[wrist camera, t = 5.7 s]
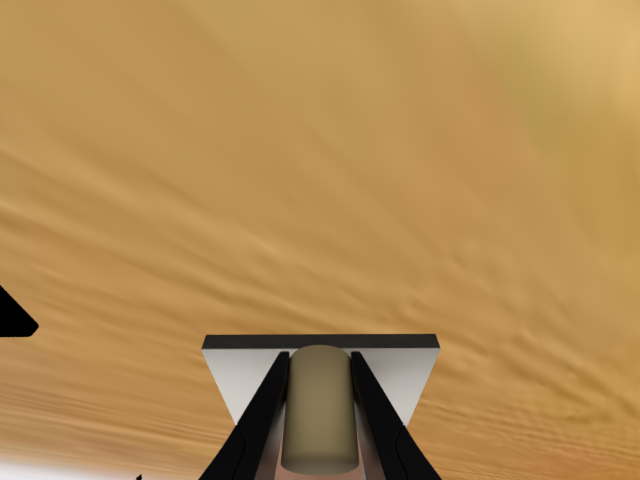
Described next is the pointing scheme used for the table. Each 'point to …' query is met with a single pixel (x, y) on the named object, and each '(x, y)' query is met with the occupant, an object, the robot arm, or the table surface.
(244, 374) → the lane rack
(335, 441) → the toy joystick
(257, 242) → the table surface
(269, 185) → the table surface
